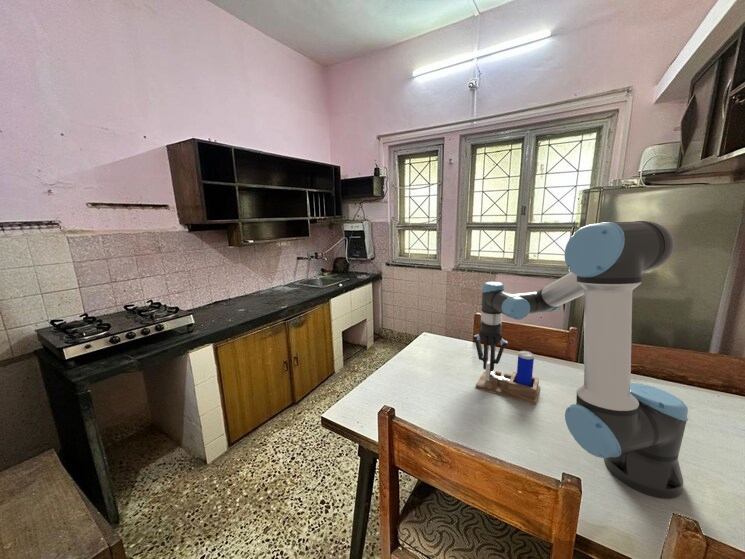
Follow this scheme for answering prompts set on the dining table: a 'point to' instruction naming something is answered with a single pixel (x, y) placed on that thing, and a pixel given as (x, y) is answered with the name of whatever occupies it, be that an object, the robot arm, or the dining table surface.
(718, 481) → the dining table surface
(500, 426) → the dining table surface
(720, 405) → the dining table surface
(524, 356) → the beverage can
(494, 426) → the dining table surface
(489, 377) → the lock pin
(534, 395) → the mount
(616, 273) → the robot arm
